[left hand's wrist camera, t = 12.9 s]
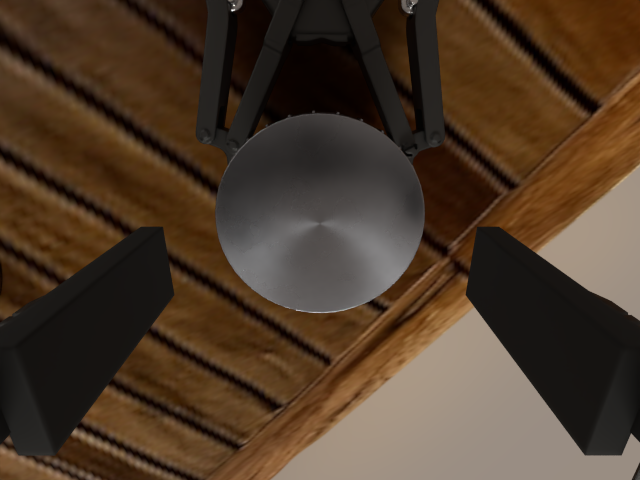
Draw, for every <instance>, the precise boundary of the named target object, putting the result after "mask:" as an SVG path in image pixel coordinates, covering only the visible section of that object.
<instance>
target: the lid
mask: <svg viewBox="0 0 640 480" xmlns="http://www.w3.org/2000/svg"><path fill="white" fill-rule="evenodd" d="M362 121H363V119H361V118H357V119H356V118H353V117H350V116H347V115H343V114H339V112H338V111H336V112H335V113H333V112H315V110H313V111H312V112H308V113H302V114H297V115H293V114H290V115H288V117H287V118H285V119H282V120H279V121H277V122H275V123H274V124H272V123H269V124H267V125H266V128H265V129H263V130H261V131H260V132H258V133H257V134H256V135H254V136H252V137H250V138H248V139H247V140H246V141H247V142H246V143H245V144H244V145H243V146H242V147H241V148H240V149H239V150H238V152H237V153H236V154H235V155H234V156H233V157H232V160H231V161H230V163H229V165H228V167H227V169H226V170H225V172H224V174H223V177H222V180H221V182H220V185H219V189H218V194H217V198H216V210H215V216H216V227H217V232H218V237H219V241H220V243H221V246H222V249H223V252H224V254H225V255H226V257H227V259H228V261H229V263H230V265H231V266H232V267H233V269H234V270H235V272H236V273H237V274H238V275H239V277H240V278H241V279H242V280H243V281H244V282H245V283H246V284H247V285H248V286H249V287H251V288H252V289H253V290H254V291H255V292H257V293H258V294H260V295H261V296H263V297H264V298H266V299H268V300H270V301H272V302H274V303H276V304H278V305H281V306H284V307H286V308H290V309H294V310H297V311H304V312H313V313H327V312H337V311H342V310H347V309H350V308H353V307H357V306H359V305H362V304H364V303H366V302H368V301H370V300H372V299H374V298H375V297H377V296H379V295H380V294H382V293H383V292H384V291H386V290H387V289H388V288H390V287H391V286H392V285H393V284H394V283H395V282H396V281H397V280H398V279H399V278H400V277H401V275H402V274H403V273H404V272H405V270H406V269H407V268H408V266H409V264H410V263H411V261H412V260H413V258H414V256H415V253H416V251H417V249H418V247H419V244H420V240H421V237H422V233H423V227H424V215H425V207H424V199H423V193H422V189H421V185H420V182H419V179H418V177H417V175H416V172H415V170H414V167H413V165H411V163H410V161H409V160H408V158H407V157H406V156H405V154H404V153H403V152H402V151H401V147H400V146H398V145H396V144H395V143H394V142H393V141H392V140H391V139H390V138H388V137H387V136H386V135H384V134H383V133H384V131H382V130H380V129H378V128H377V129H376V128H374V127H372V126H370V125H368V124H366V123H364V122H362Z"/></svg>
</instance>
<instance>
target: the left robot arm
mask: <svg viewBox="0 0 640 480" xmlns="http://www.w3.org/2000/svg"><path fill="white" fill-rule="evenodd" d="M1 288H2V276H1V270H0V294H1ZM173 296H174V290H173V284H172V279H171V273H170V267H169V261H168V255H167V249H166V243H165V237H164V231H163V227H140V228H139V229H137V230H136V231H135V232H133V233H132V234H130V235H129V236H128V237H126V238H125V239H123V240H122V241H121V242H119V243H118V244H116V245H115V246H114V247H112V248H111V249H109V250H108V251H107V252H105V253H104V254H102V255H101V256H100V257H98V258H97V259H95V260H94V261H93V262H91V263H90V264H88V265H87V266H86V267H84V268H83V269H81V270H80V271H79V272H77V273H76V274H74V275H73V276H72V277H70V278H69V279H67V280H66V281H65V282H63V283H62V284H60V285H59V286H58V287H56V288H55V289H53V290H52V291H51V292H49V293H48V294H46V295H45V296H42V297H40V298H38V299H36V300H34V301H31V302H29V303H28V304H26V305H25V306H24V307H22V308H21V309H19V310H18V311H16V312H15V313H13V316H12V317H8V318H6V319H5V320H3V321H2V322H1V323H0V444H1V443H2V442H3V441H4V440H5V439H6V438H7V437H8V436H9V434H10V437H11V439H12V441H13V444H14V446H15V448H16V451H17V453H18V455H56V453H57V452H58V451H59V449H60V448H61V447H62V445H63V444H64V443H65V441H66V440H67V439H68V437H69V436H70V434H71V433H72V432H73V430H74V429H75V428H76V426H77V425H78V424H79V422H80V421H81V420H82V418H83V417H84V416H85V414H86V413H87V412H88V410H89V409H90V408H91V406H92V405H93V404H94V402H95V401H96V400H97V398H98V397H99V396H100V394H101V393H102V391H103V390H104V389H105V387H106V386H107V385H108V383H109V382H110V381H111V379H112V378H113V377H114V375H115V374H116V373H117V371H118V370H119V369H120V367H121V366H122V365H123V363H124V362H125V361H126V359H127V358H128V357H129V355H130V354H131V353H132V351H133V350H134V348H135V347H136V346H137V344H138V343H139V342H140V340H141V339H142V338H143V336H144V335H145V334H146V332H147V331H148V330H149V328H150V327H151V326H152V324H153V323H154V322H155V320H156V319H157V318H158V316H159V315H160V314H161V312H162V311H163V310H164V308H165V307H166V305H167V304H168V303H169V301H170V300H171V299H172V297H173ZM466 296H467V297H468V299H469V300H470V301H471V303H472V304H473V305H474V307H475V308H476V310H477V311H478V312H479V313H480V315H481V316H482V318H483V319H484V320H485V322H486V323H487V324H488V326H489V327H490V328H491V330H492V331H493V332H494V334H495V335H496V336H497V338H498V339H499V340H500V342H501V343H502V344H503V346H504V347H505V348H506V350H507V351H508V352H509V354H510V355H511V357H512V358H513V359H514V361H515V362H516V363H517V365H518V366H519V367H520V369H521V370H522V371H523V373H524V374H525V375H526V377H527V378H528V379H529V381H530V382H531V383H532V385H533V386H534V387H535V389H536V390H537V391H538V393H539V394H540V396H541V397H542V398H543V400H544V401H545V402H546V404H547V405H548V406H549V408H550V409H551V410H552V412H553V413H554V414H555V416H556V417H557V418H558V420H559V421H560V422H561V424H562V425H563V426H564V428H565V429H566V430H567V432H568V433H569V434H570V436H571V437H572V439H573V440H574V441H575V443H576V444H577V445H578V447H579V448H580V449H581V451H582V452H583V453H584V455H622V453H623V451H624V448H625V446H626V444H627V441H628V439H629V437H630V434H631V433H632V434H633V435H634V437H635V438H636V439H637V440H638V441H639V442H640V321H639V320H638V319H636V318H635V317H633V316H632V315H628V312H626V311H625V310H623V309H622V308H620V307H619V306H618V305H616V304H615V303H613V302H612V301H610V300H608V299H605V298H603V297H601V296H599V295H597V294H594V293H592V292H590V291H588V290H587V289H585V288H584V287H582V286H581V285H580V284H578V283H577V282H575V281H574V280H573V279H571V278H570V277H568V276H567V275H566V274H564V273H563V272H561V271H560V270H559V269H557V268H556V267H554V266H553V265H552V264H550V263H549V262H547V261H546V260H545V259H543V258H542V257H540V256H539V255H538V254H536V253H535V252H533V251H532V250H531V249H529V248H528V247H526V246H525V245H524V244H522V243H521V242H519V241H518V240H517V239H515V238H514V237H512V236H511V235H510V234H508V233H507V232H505V231H504V230H503V229H501V228H500V227H477V231H476V237H475V243H474V249H473V255H472V261H471V267H470V273H469V278H468V284H467V290H466ZM632 480H640V463H639V465H638V468H637V470H636V472H635V474H634V476H633V478H632Z"/></svg>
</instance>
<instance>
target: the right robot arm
mask: <svg viewBox="0 0 640 480" xmlns="http://www.w3.org/2000/svg"><path fill="white" fill-rule="evenodd" d="M383 1H384V0H262V2H263V3H264V5H265V6H266V8H267V9H268V11H269V12H270V14H271V15H272V17H273V18H272V20H271V23H270V25H269V28H268V30H267V33H266V35H265V38H264V42H263V47H262V50H261V52H260V55H259V57H258V60H257V62H256V65H255V67H254V70H253V72H252V75H251V77H250V80H249V82H248V85H247V87H246V90H245V92H244V95H243V97H242V100H241V102H240V105H239V107H238V110H237V112H236V115H235V117H234V120H233V122H232V125H231V127H230V129H228V128H225V127H224V126H225V119H226V111H227V104H228V96H229V89H230V81H231V73H232V66H233V58H234V51H235V43H236V36H237V14H240V13H242V12H243V11H244V9H245V6H246V0H206V3H207V8H208V21H207V30H206V40H205V49H204V59H203V68H202V78H201V88H200V97H199V107H198V116H197V126H196V137H197V139H198V140H199V141H200V142H201V143H203V144H210V145H213V146H215V147H218V148H220V149H222V150H223V151H224V152H225V154H226V156H227V161H228V165H229V163H230V161H231V160H232V157H233V156H234V155H235V154H236V153H237V152H238V150H239V149H240V148H241V147H242V146H243V145H244V144H245V143H246V142H247V141H246V140H247V139H248V138H250V137H252V136H253V134H254V132H255V130H256V127H257V125H258V122H259V120H260V118H261V115H262V113H263V111H264V108H265V106H266V104H267V101H268V99H269V97H270V94H271V92H272V90H273V87H274V85H275V82H276V80H277V78H278V75H279V73H280V71H281V68H282V66H283V64H284V61H285V59H286V58H287V56H288V54H289V52H290V49H291V47H292V45H293V42H294V43H296V44H297V45H298V46H311V45H314V44H317V43H321V42H322V43H326V44H329V45H332V46H346V44H349V43H350V45H351V47H352V50H353V52H354V55H355V57H356V59H357V61H358V63H359V65H360V68H361V70H362V73H363V75H364V78H365V80H366V83H367V85H368V88H369V90H370V93H371V95H372V98H373V100H374V103H375V106H376V108H377V111H378V113H379V116H380V118H381V121H382V123H383V126H384V128H385V131H386V133H387V136H388V138H390V139H391V140H392V141H393V142H394V143H395V144H396V145H398V146H400V147H401V151H402V152H403V153H404V154H405V156H406V157H407V158H408V160H409V161H410V163H411V165H413V159H414V157H415V156H416V155H417V154H418V152H419V151H421V150H424V149H427V148H430V147H437V146H440V145H441V144H442V143H443V141H444V139H445V130H444V118H443V105H442V92H441V80H440V67H439V55H438V42H437V29H436V17H435V16H436V11H437V7H438V2H439V0H398V9H399V12H400V13H401V14H402V15H403V16H405V17H407V22H406V35H407V45H408V55H409V64H410V73H411V83H412V92H413V102H414V111H415V120H416V130H414V131H411V129H410V126H409V124H408V121H407V118H406V115H405V113H404V110H403V107H402V105H401V102H400V99H399V97H398V94H397V91H396V88H395V86H394V83H393V80H392V78H391V75H390V72H389V70H388V67H387V64H386V61H385V59H384V56H383V53H382V51H381V47H380V41H379V38H378V35H377V32H376V30H375V27H374V24H373V21H372V19H371V18H372V17H373V16H374V14H375V13H376V11H377V10H378V8H379V7H380V5H381V4H382V3H383Z"/></svg>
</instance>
